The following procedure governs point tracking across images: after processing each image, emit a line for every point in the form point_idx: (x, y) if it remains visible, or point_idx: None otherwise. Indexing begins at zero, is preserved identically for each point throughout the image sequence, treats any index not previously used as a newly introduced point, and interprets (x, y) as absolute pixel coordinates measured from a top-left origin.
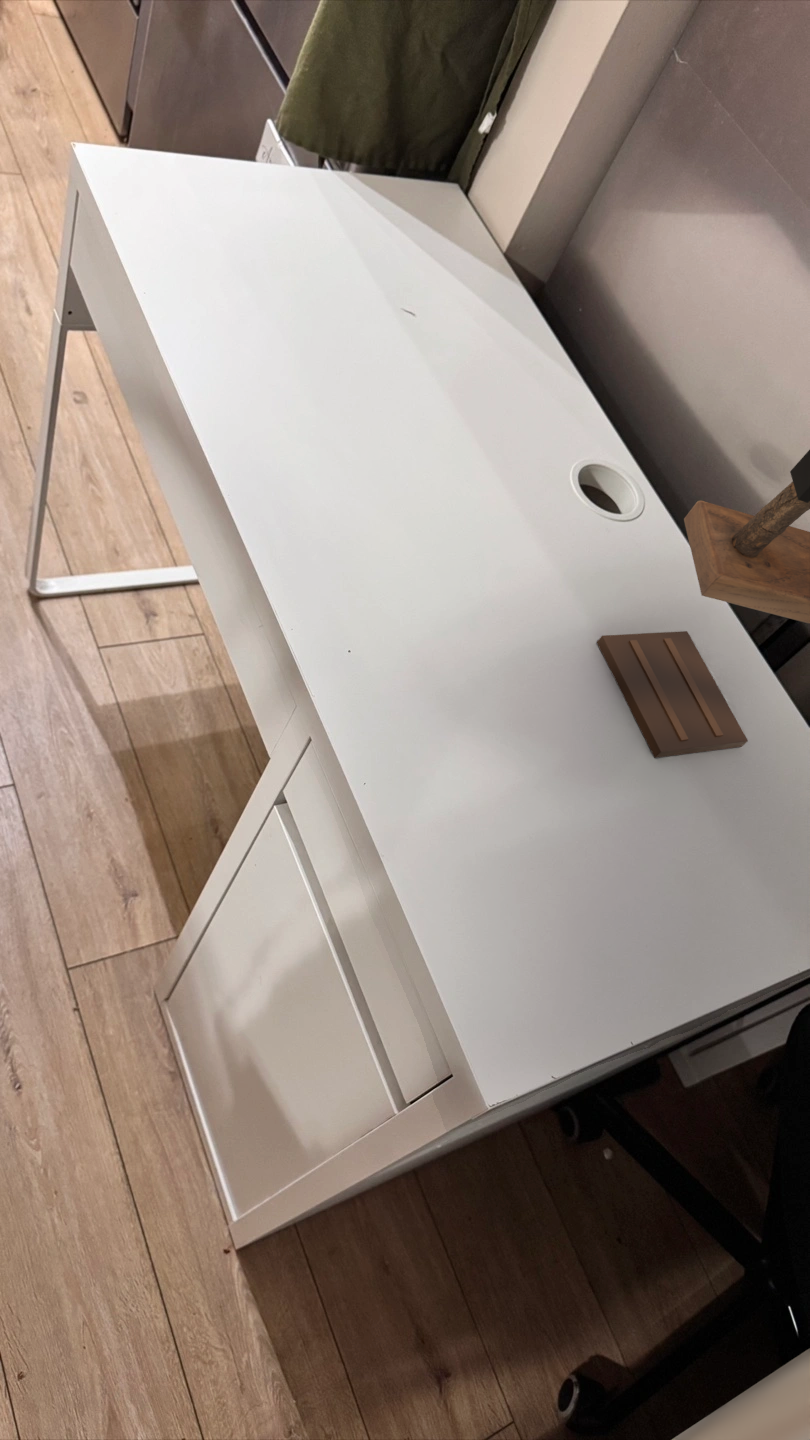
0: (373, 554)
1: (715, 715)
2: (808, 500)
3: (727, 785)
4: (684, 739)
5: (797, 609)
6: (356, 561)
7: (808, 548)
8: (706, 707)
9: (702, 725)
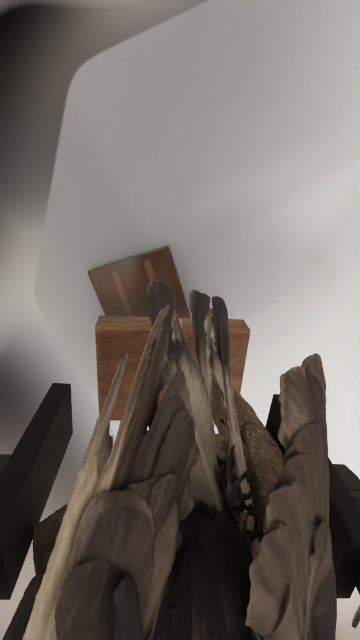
0: (340, 359)
1: (113, 288)
2: (276, 397)
3: (108, 232)
4: (146, 261)
5: (146, 322)
6: (353, 351)
7: (122, 397)
8: (120, 293)
9: (127, 277)
